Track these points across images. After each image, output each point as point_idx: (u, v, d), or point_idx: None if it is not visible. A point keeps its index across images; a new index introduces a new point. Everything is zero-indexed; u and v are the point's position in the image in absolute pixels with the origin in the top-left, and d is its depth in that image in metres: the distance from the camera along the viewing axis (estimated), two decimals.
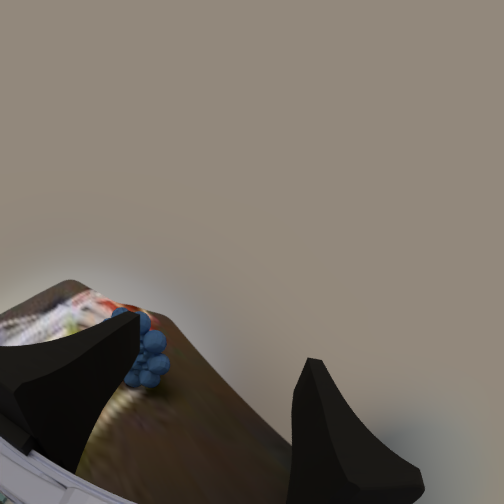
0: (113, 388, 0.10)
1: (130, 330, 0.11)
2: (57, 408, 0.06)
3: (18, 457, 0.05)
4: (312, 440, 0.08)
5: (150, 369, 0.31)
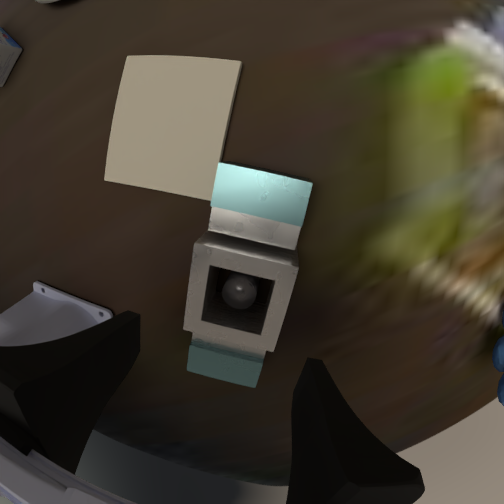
0: (113, 388, 0.10)
1: (130, 330, 0.11)
2: (57, 408, 0.06)
3: (18, 457, 0.05)
4: (312, 440, 0.08)
5: None
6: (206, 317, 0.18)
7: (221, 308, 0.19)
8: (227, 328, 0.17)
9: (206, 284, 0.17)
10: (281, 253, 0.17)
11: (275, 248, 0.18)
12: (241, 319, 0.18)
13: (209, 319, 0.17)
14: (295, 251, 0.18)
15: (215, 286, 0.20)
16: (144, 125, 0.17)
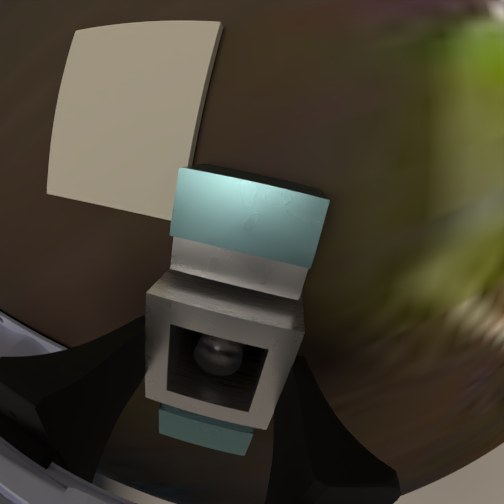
0: (129, 394, 0.10)
1: None
2: (77, 419, 0.06)
3: (18, 457, 0.05)
4: (289, 437, 0.08)
5: None
6: (174, 384, 0.12)
7: (197, 368, 0.13)
8: (202, 401, 0.12)
9: (169, 348, 0.11)
10: (278, 304, 0.11)
11: (270, 294, 0.12)
12: (223, 386, 0.13)
13: (179, 388, 0.12)
14: None
15: (190, 335, 0.15)
16: (90, 118, 0.12)
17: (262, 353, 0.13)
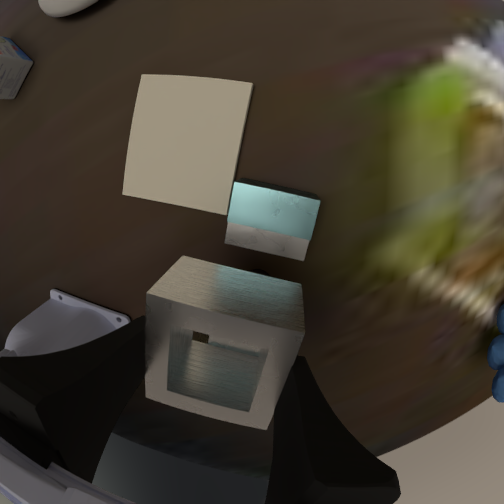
0: (129, 394, 0.10)
1: None
2: (77, 419, 0.06)
3: (18, 457, 0.05)
4: (289, 437, 0.08)
5: (498, 380, 0.15)
6: (174, 385, 0.12)
7: (197, 368, 0.13)
8: (203, 401, 0.12)
9: (169, 348, 0.11)
10: (279, 304, 0.11)
11: (270, 294, 0.12)
12: (223, 386, 0.13)
13: (179, 388, 0.12)
14: (299, 297, 0.12)
15: (190, 335, 0.15)
16: (161, 143, 0.19)
17: (262, 353, 0.13)
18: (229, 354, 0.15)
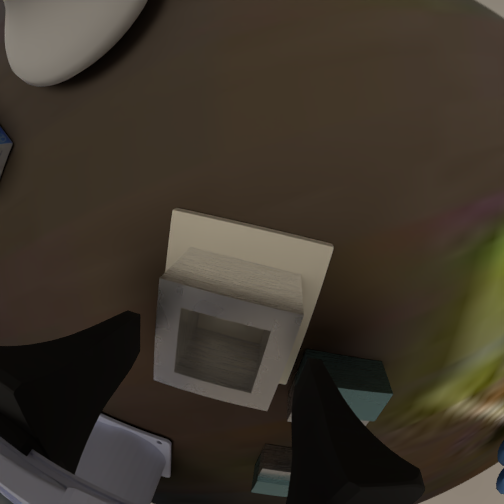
0: (113, 388, 0.10)
1: (130, 330, 0.11)
2: (57, 408, 0.06)
3: (18, 457, 0.05)
4: (312, 440, 0.08)
5: (503, 479, 0.13)
6: (181, 367, 0.13)
7: (202, 352, 0.14)
8: (208, 383, 0.13)
9: (178, 330, 0.12)
10: (280, 291, 0.12)
11: (272, 282, 0.13)
12: (227, 369, 0.14)
13: (185, 370, 0.13)
14: (298, 285, 0.13)
15: (195, 322, 0.16)
16: None
17: (264, 338, 0.14)
18: (232, 341, 0.16)
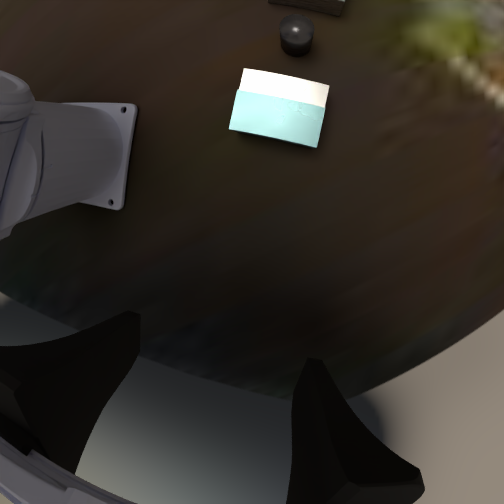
0: (113, 388, 0.10)
1: (130, 330, 0.11)
2: (57, 408, 0.06)
3: (18, 457, 0.05)
4: (312, 440, 0.08)
5: None
6: None
7: None
8: None
9: None
10: None
11: None
12: None
13: None
14: None
15: None
16: None
17: None
18: None
